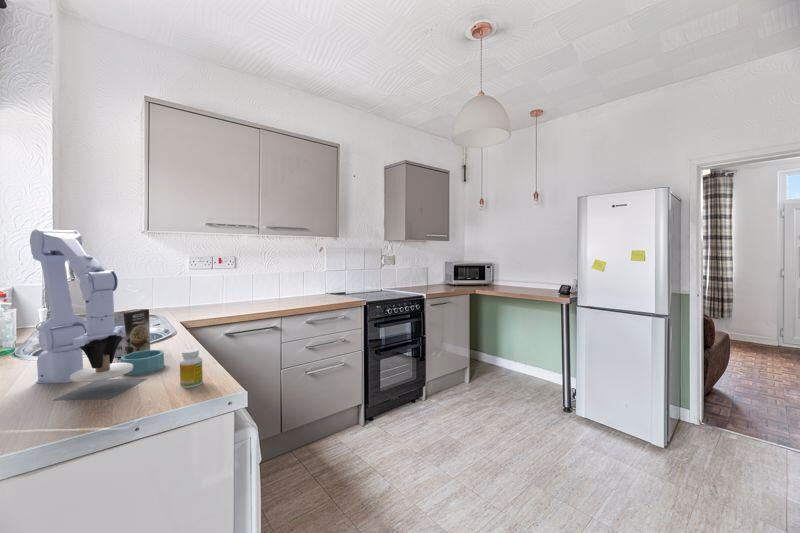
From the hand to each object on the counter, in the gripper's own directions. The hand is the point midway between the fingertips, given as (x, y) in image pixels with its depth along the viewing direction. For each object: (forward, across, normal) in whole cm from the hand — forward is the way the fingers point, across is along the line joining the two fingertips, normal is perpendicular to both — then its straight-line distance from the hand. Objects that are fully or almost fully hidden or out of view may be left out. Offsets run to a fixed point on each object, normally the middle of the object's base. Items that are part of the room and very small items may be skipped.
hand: (102, 365), depth 94 cm
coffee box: (+7, +34, +16) cm, 38 cm away
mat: (+7, 0, 0) cm, 7 cm away
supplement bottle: (+7, +2, -22) cm, 23 cm away
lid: (+2, 0, 0) cm, 2 cm away
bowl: (+7, +16, 0) cm, 17 cm away
